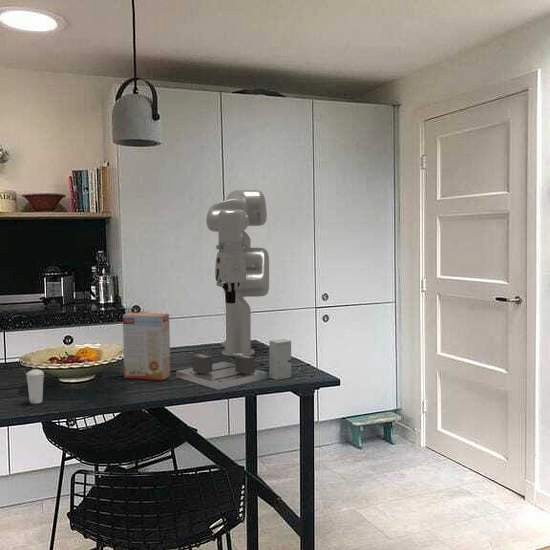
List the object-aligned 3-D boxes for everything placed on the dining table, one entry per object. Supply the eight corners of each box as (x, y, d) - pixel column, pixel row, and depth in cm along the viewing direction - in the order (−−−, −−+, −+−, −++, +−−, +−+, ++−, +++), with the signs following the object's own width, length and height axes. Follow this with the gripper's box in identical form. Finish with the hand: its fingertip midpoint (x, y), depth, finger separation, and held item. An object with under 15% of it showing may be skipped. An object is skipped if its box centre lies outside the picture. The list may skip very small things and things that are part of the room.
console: (176, 377, 200) (175, 370, 200) (224, 367, 213) (224, 361, 213) (217, 389, 184) (217, 382, 184) (267, 378, 197) (267, 372, 197)
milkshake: (22, 401, 172) (21, 366, 171) (43, 399, 175) (41, 364, 174) (25, 405, 168) (24, 369, 167) (46, 402, 171) (45, 367, 170)
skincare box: (276, 380, 195) (276, 342, 194) (268, 377, 199) (268, 340, 198) (292, 377, 199) (292, 340, 198) (284, 374, 202) (284, 338, 201)
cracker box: (171, 376, 200) (170, 313, 199) (162, 381, 194) (161, 315, 193) (133, 373, 204) (131, 311, 203) (123, 378, 199) (122, 314, 197)
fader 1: (192, 371, 198) (192, 355, 197) (203, 369, 200) (202, 353, 200) (202, 373, 194) (202, 357, 194) (212, 371, 197) (212, 356, 196)
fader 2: (235, 371, 197) (235, 355, 196) (244, 369, 199) (244, 354, 199) (245, 374, 193) (245, 358, 193) (255, 372, 196) (254, 356, 195)
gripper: (218, 249, 195) (219, 306, 197) (254, 247, 205) (255, 301, 207) (204, 248, 200) (205, 304, 202) (240, 246, 210) (241, 299, 212)
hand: (230, 302), depth 205 cm, fingers closed
